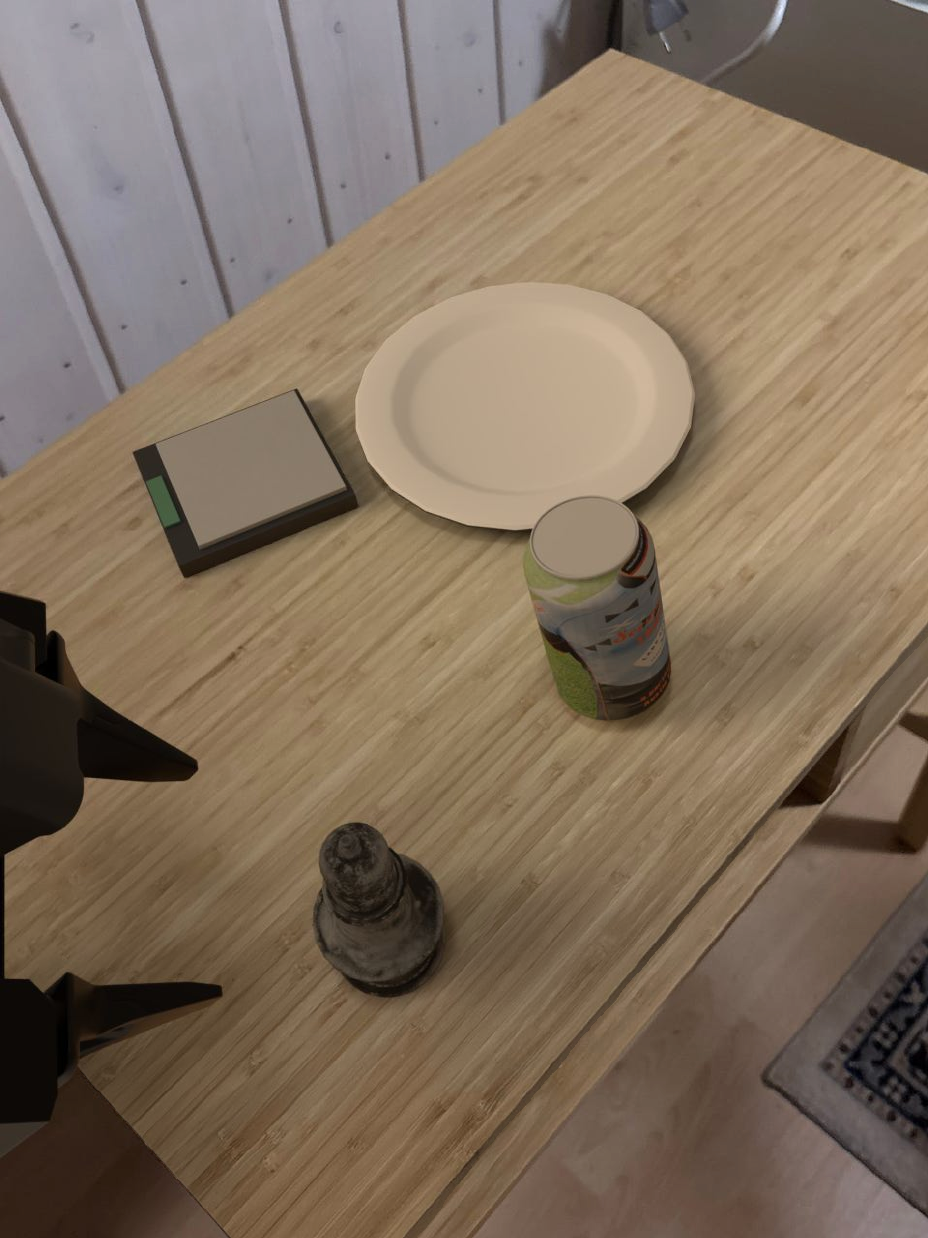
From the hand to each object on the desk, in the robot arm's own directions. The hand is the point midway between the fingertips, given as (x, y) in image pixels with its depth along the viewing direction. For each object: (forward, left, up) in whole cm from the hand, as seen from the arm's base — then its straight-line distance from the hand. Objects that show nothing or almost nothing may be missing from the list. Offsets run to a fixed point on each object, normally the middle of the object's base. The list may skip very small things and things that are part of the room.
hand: (204, 876), depth 44 cm
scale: (+8, +29, -12) cm, 32 cm away
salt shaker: (+5, -1, -12) cm, 13 cm away
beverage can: (+21, +7, -12) cm, 25 cm away
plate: (+26, +26, -12) cm, 38 cm away
